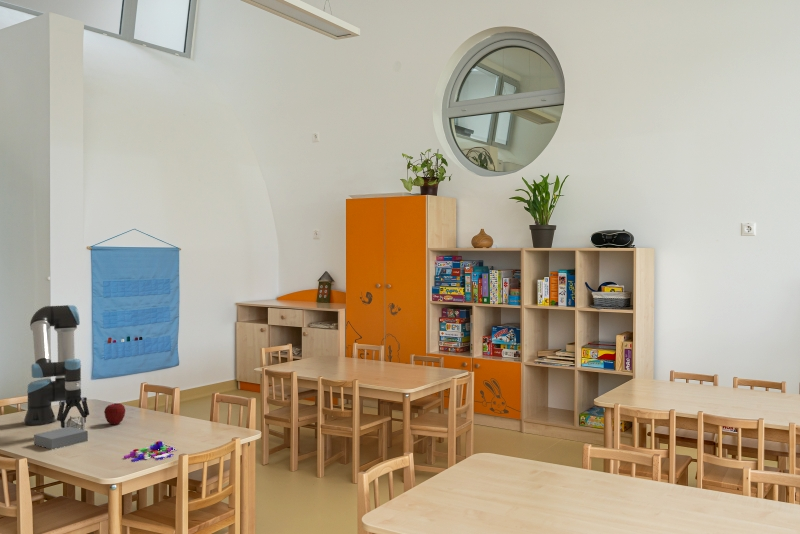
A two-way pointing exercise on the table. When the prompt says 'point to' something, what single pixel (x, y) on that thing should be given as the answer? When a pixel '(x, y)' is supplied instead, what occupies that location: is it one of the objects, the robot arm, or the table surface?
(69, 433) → the plinth
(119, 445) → the table surface
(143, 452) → the building block set
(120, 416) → the apple
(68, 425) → the game die
